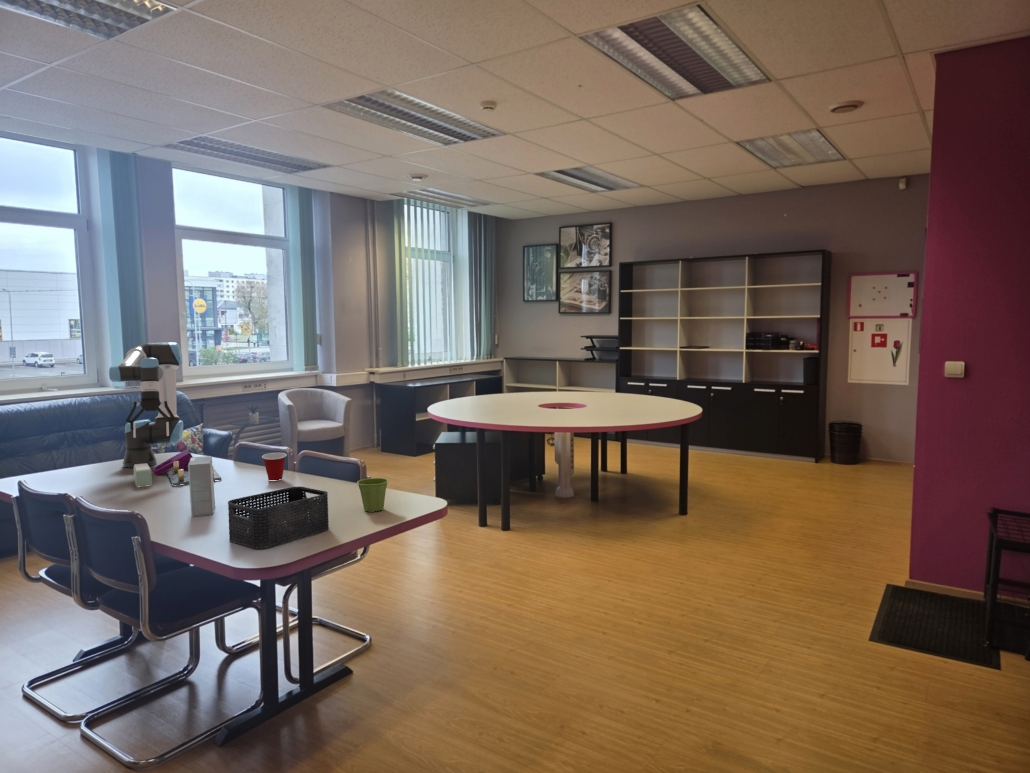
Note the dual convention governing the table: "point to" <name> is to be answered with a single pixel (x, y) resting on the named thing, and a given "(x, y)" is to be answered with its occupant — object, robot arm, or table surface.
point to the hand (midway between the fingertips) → (151, 436)
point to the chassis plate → (184, 475)
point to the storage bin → (277, 517)
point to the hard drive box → (201, 486)
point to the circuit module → (142, 474)
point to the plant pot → (373, 493)
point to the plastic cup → (274, 465)
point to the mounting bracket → (181, 457)
